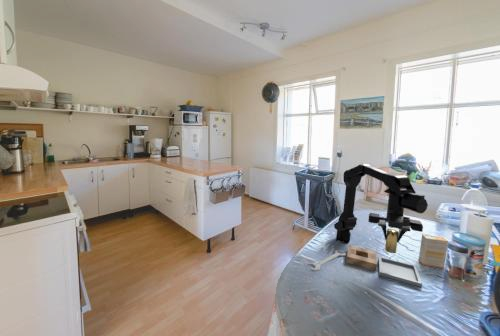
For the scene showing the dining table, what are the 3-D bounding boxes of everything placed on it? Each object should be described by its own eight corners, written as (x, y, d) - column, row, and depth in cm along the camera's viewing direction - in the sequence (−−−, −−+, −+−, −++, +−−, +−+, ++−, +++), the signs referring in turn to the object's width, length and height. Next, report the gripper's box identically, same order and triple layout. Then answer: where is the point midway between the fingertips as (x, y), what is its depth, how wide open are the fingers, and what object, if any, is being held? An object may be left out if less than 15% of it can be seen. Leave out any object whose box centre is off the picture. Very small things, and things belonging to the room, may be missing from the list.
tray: (379, 276, 91) (379, 272, 90) (378, 260, 103) (378, 256, 102) (421, 288, 84) (422, 283, 84) (415, 269, 96) (415, 265, 96)
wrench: (304, 267, 97) (314, 274, 93) (305, 264, 97) (314, 270, 92) (338, 250, 111) (348, 255, 107) (338, 247, 111) (348, 252, 107)
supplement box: (439, 263, 102) (443, 236, 100) (444, 269, 97) (449, 241, 95) (417, 259, 104) (421, 233, 102) (421, 265, 100) (426, 237, 98)
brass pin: (385, 251, 93) (387, 231, 92) (384, 247, 97) (386, 228, 96) (396, 254, 91) (398, 233, 90) (395, 249, 95) (397, 230, 94)
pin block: (346, 262, 100) (346, 256, 100) (348, 250, 111) (349, 245, 110) (376, 270, 95) (377, 264, 94) (375, 257, 105) (376, 251, 105)
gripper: (370, 206, 89) (366, 243, 91) (428, 215, 80) (422, 255, 82) (370, 200, 98) (367, 233, 101) (422, 207, 89) (417, 243, 92)
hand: (391, 240), depth 93 cm, fingers closed on brass pin, 4 cm apart
